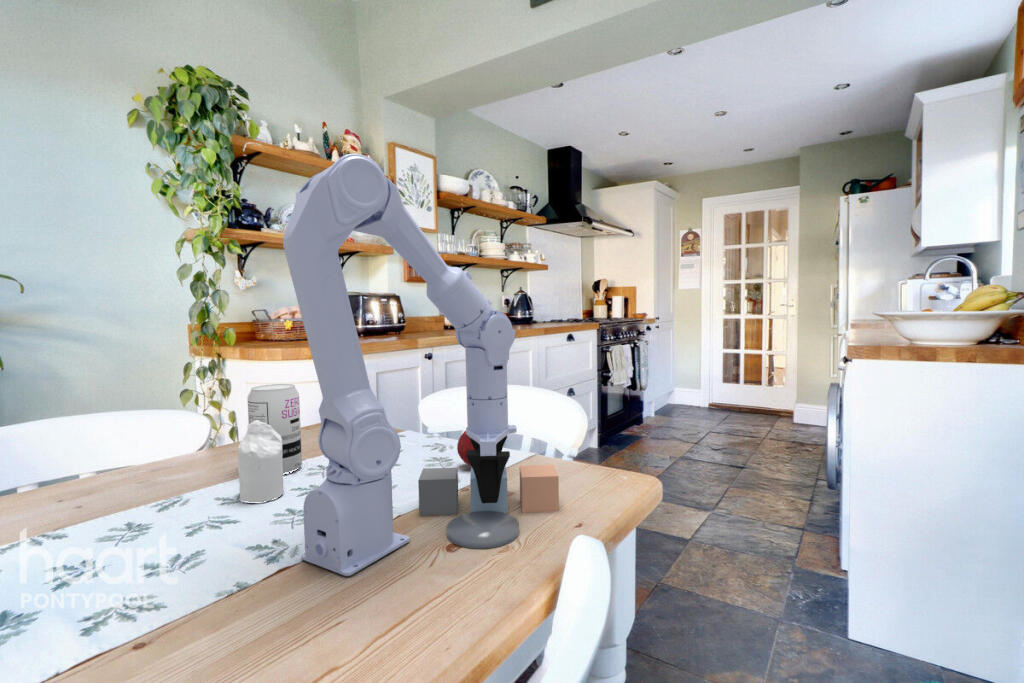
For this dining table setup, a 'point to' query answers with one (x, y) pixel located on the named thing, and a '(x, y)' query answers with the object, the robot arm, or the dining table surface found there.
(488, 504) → the blue cube
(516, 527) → the slate coaster
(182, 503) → the dining table surface
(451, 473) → the charcoal cube
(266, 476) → the grey crumpled-top cylinder
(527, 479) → the terracotta cube
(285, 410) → the white soda can
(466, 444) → the onion
